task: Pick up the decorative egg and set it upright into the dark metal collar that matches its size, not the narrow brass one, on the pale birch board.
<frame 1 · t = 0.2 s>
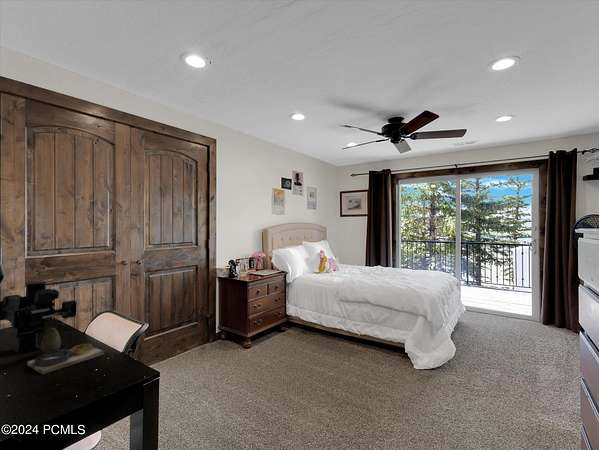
hand: (55, 317, 107), 17 cm above the table, tool horizontal, fingers open, 9 cm apart
decorative egg: (50, 354, 116), on the table
fitting board: (67, 359, 111), on the table
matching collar: (53, 363, 108), resting on fitting board
narrow collar: (82, 354, 116), resting on fitting board
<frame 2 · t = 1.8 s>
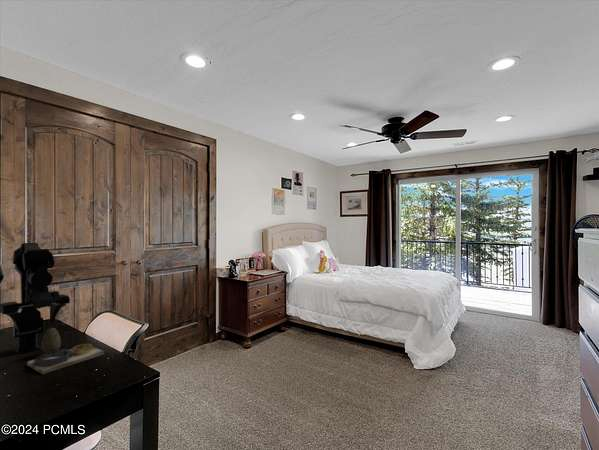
hand: (35, 327, 109), 13 cm above the table, tool pointing down, fingers open, 9 cm apart
nothing on the table moved.
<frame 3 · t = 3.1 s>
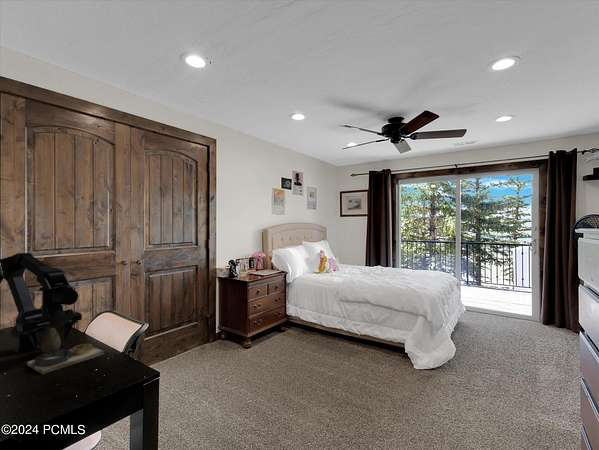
hand: (50, 343, 116), 4 cm above the table, tool pointing down, fingers open, 9 cm apart
nothing on the table moved.
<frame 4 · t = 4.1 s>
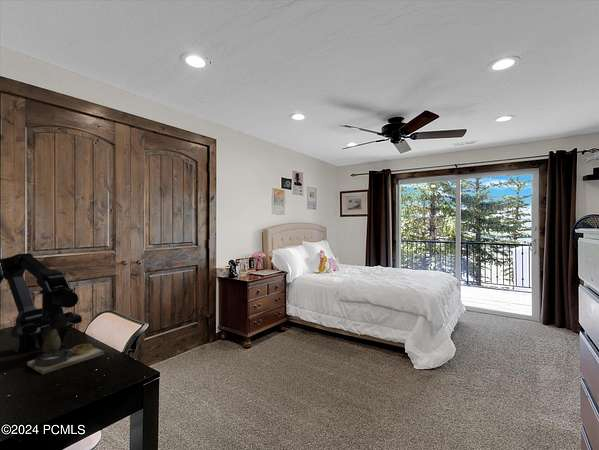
hand: (50, 346, 116), 3 cm above the table, tool pointing down, fingers closed on decorative egg, 6 cm apart
decorative egg: (50, 354, 116), on the table, touching gripper
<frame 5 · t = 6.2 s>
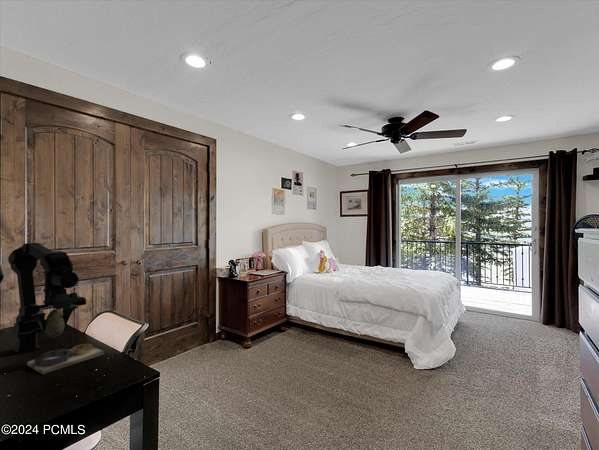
hand: (54, 328, 111), 11 cm above the table, tool pointing down, fingers closed on decorative egg, 6 cm apart
decorative egg: (54, 337, 111), point 8 cm above the table, touching gripper
when the fingers open (5 cm above the table, at t = 8.5 s): decorative egg stays where it is, resting on fitting board.
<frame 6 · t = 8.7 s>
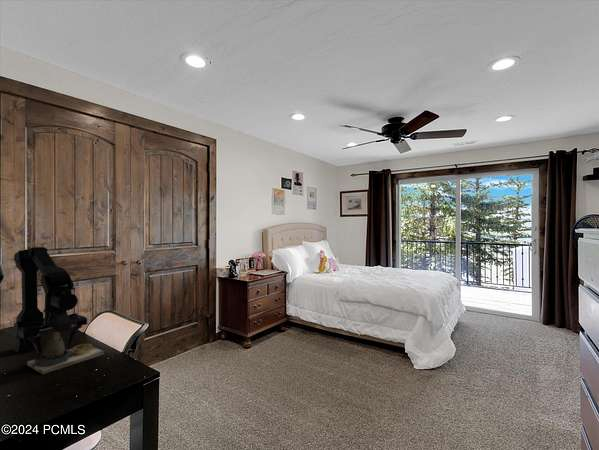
hand: (54, 350, 108), 5 cm above the table, tool pointing down, fingers open, 8 cm apart
decorative egg: (54, 360, 108), point 1 cm above the table, touching fitting board
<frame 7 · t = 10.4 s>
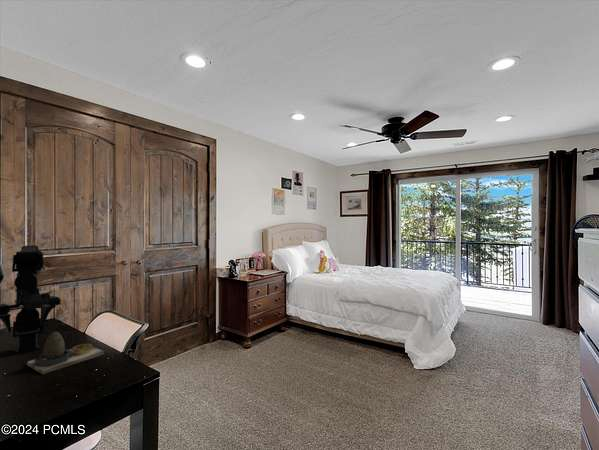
hand: (26, 329, 109), 12 cm above the table, tool pointing down, fingers open, 9 cm apart
nothing on the table moved.
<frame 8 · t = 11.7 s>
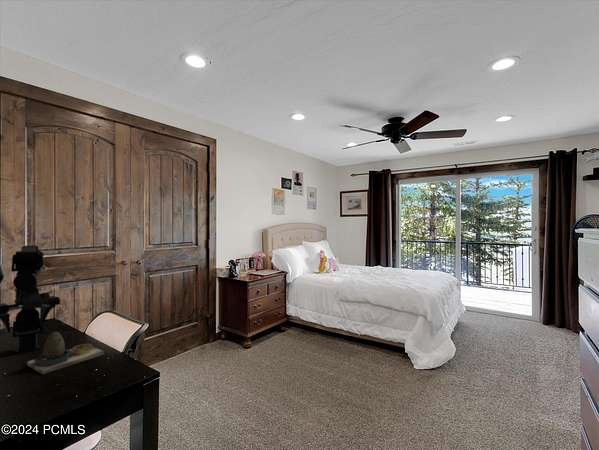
hand: (25, 328, 109), 12 cm above the table, tool pointing down, fingers open, 9 cm apart
nothing on the table moved.
at the end: decorative egg 0.1 cm off-centre on the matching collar, point 1.0 cm above the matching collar's base; decorative egg tilted 0°; the gripper is holding nothing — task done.
